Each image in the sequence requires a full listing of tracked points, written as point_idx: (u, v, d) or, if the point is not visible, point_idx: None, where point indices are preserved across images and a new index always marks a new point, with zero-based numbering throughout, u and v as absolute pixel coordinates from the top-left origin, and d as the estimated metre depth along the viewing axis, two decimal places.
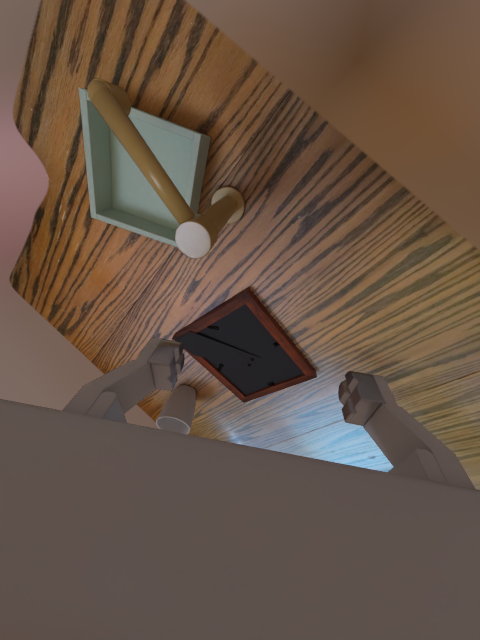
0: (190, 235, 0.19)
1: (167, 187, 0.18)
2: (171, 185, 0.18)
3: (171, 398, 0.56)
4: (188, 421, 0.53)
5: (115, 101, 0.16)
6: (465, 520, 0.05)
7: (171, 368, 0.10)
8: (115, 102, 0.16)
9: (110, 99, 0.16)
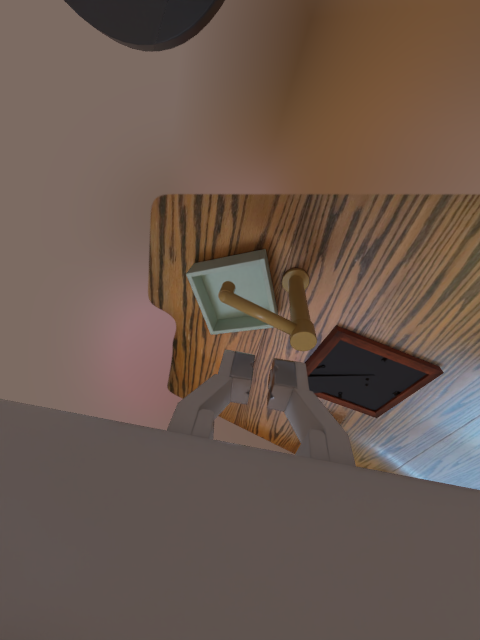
0: (300, 339, 0.28)
1: (275, 320, 0.28)
2: (276, 317, 0.28)
3: None
4: None
5: (233, 295, 0.27)
6: (465, 520, 0.05)
7: None
8: (234, 296, 0.27)
9: (231, 296, 0.27)
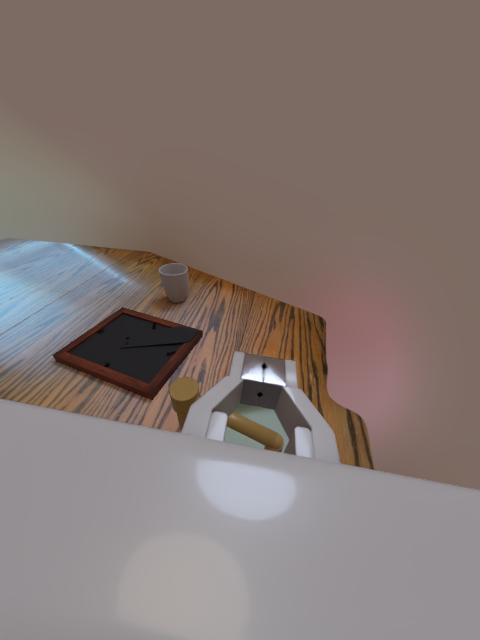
0: (187, 390, 0.25)
1: None
2: None
3: (185, 288, 0.68)
4: (162, 276, 0.64)
5: (264, 443, 0.22)
6: (464, 520, 0.06)
7: (262, 385, 0.10)
8: (264, 442, 0.22)
9: (267, 441, 0.22)
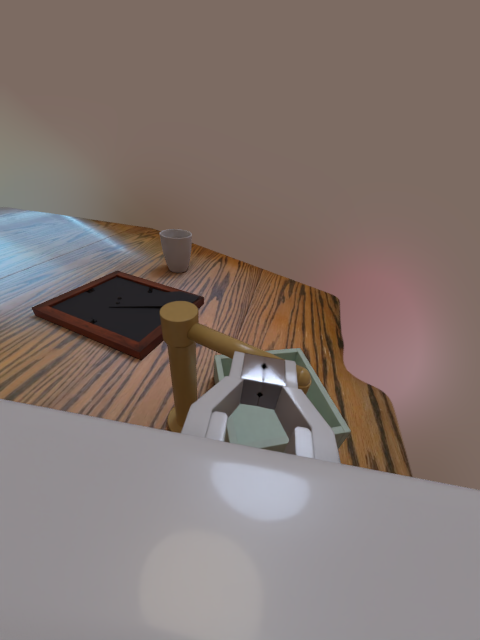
0: (183, 312, 0.19)
1: (218, 340, 0.18)
2: (216, 345, 0.18)
3: (187, 256, 0.62)
4: (163, 240, 0.58)
5: None
6: (465, 520, 0.05)
7: (262, 384, 0.10)
8: None
9: None
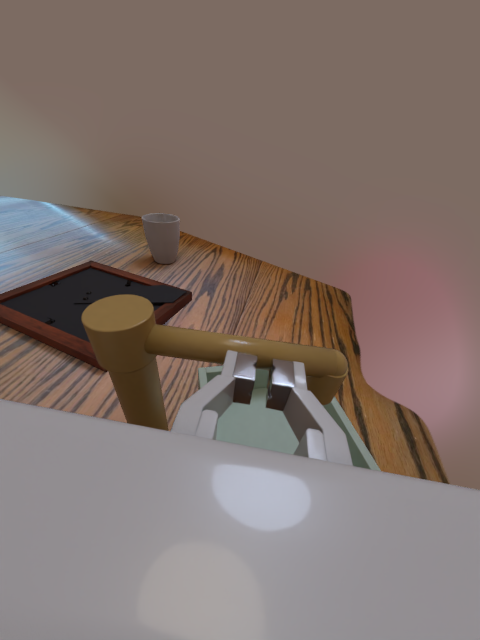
0: (127, 312, 0.11)
1: (202, 343, 0.11)
2: (200, 351, 0.11)
3: (174, 244, 0.53)
4: (145, 224, 0.50)
5: (318, 370, 0.11)
6: (465, 520, 0.05)
7: None
8: (317, 368, 0.11)
9: (322, 365, 0.11)
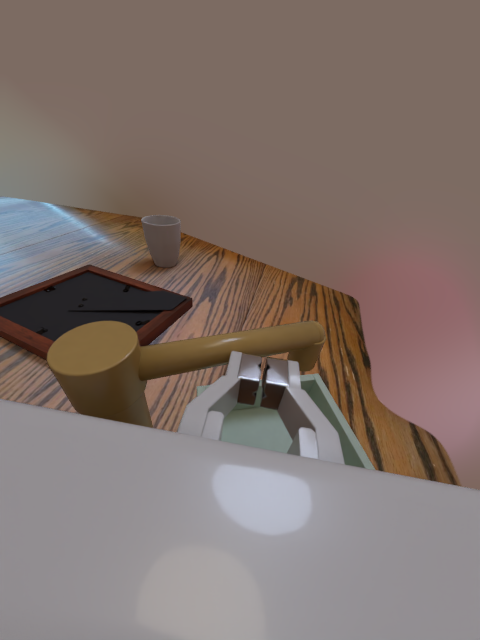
0: (108, 343, 0.09)
1: (201, 351, 0.11)
2: (202, 359, 0.11)
3: (175, 247, 0.52)
4: (145, 227, 0.48)
5: (306, 341, 0.13)
6: (465, 520, 0.05)
7: None
8: (306, 341, 0.13)
9: (309, 337, 0.13)
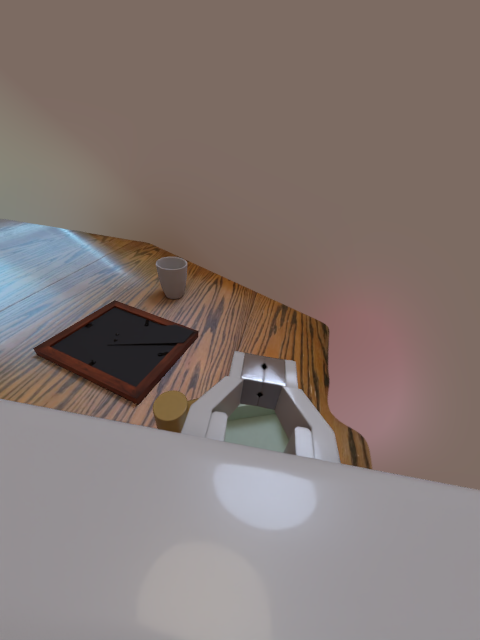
0: (175, 404, 0.22)
1: None
2: None
3: (182, 284, 0.64)
4: (159, 270, 0.60)
5: None
6: (465, 520, 0.06)
7: (262, 385, 0.10)
8: None
9: None
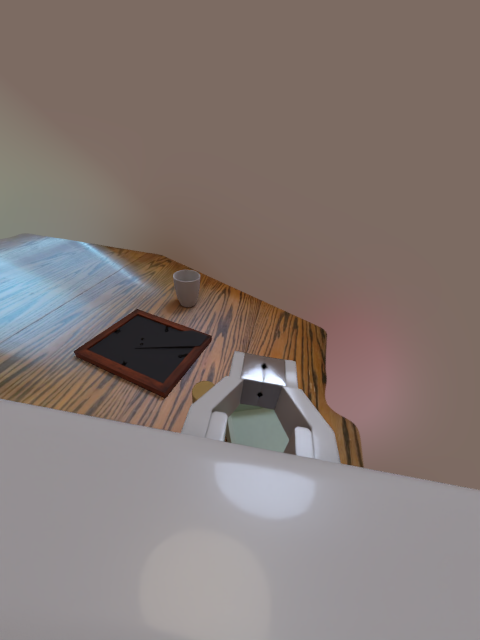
0: (208, 390, 0.30)
1: None
2: None
3: (196, 294, 0.72)
4: (176, 282, 0.68)
5: None
6: (465, 520, 0.05)
7: (262, 385, 0.10)
8: None
9: None
